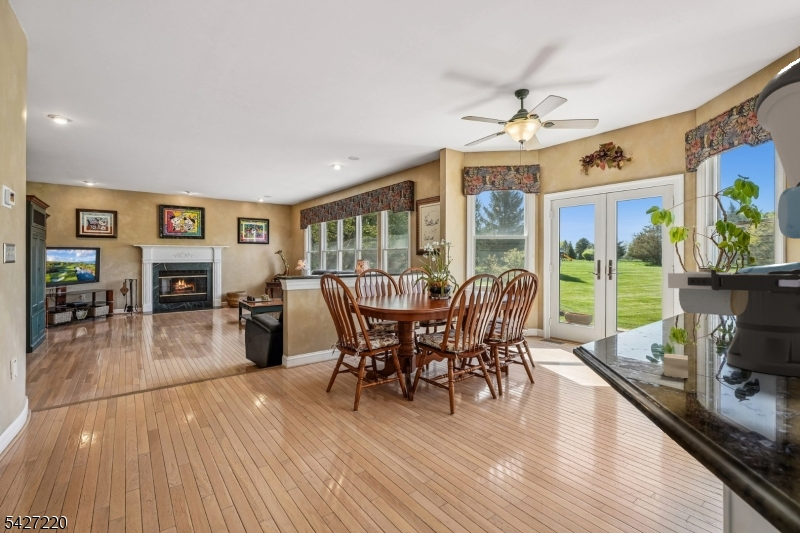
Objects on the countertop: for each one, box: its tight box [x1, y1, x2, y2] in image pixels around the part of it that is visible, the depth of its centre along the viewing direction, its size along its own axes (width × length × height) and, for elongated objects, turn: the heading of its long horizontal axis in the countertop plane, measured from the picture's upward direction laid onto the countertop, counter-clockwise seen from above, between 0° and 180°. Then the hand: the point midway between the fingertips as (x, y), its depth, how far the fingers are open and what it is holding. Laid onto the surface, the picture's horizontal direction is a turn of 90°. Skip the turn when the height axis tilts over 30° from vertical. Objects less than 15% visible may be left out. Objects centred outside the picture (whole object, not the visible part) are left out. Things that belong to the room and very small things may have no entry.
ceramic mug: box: [678, 270, 748, 317], centre depth 67 cm, size 11×8×8 cm
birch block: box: [663, 353, 689, 379], centre depth 78 cm, size 4×4×4 cm
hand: (678, 280), depth 71 cm, fingers closed on ceramic mug, 7 cm apart
